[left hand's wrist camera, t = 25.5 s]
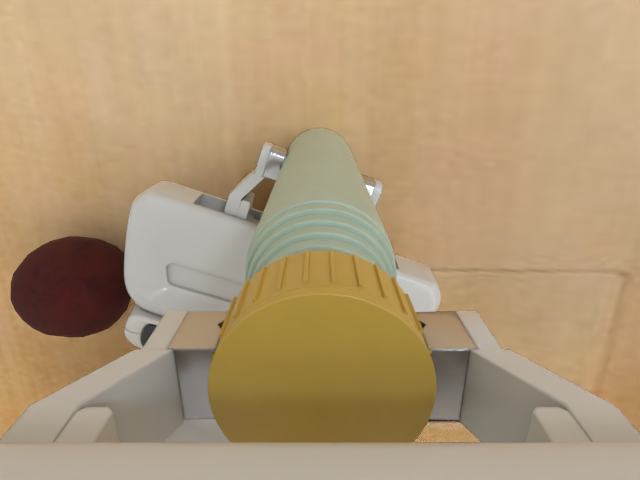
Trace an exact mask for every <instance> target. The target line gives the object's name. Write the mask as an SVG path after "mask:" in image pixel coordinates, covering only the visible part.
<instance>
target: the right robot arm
mask: <svg viewBox="0 0 640 480" xmlns="http://www.w3.org/2000/svg"><path fill="white" fill-rule="evenodd" d="M287 153H288V149H286V148H283V147H280V146H278V145H275V144H272V143H269V142H265V143H264V145H263V148H262V150H261V153H260V157H259V160H258V164H257V167H256V168H255V169H254V170H253V171H252V172H251V173H249V174H248V175H247V176H246V177H245V178H244V179H243V180H242V181H241V182H239V183H238V184H237V185H236V186H235V187H234V189H233V190H232V191H231V193H230V194H229V196H228V200H226V199H223V198H220V197H217V196H214V195H210V194H207V193H204V192H201V191H198V190H195V189H192V188H189V187H186V186H183V185H180V184H177V183H174V182H171V181H166V180H164V181H160V182H158V183H156V184H154V185H152V186H151V187H149V188H147V189H145V190H144V191H143V192H142V193H140V194H139V195H138V196H137V197H136V198H135V200H134V201H133V203H132V206H131V209H130V213H129V218H128V224H127V232H126V240H125V253H124V280H125V285H126V289H127V291H128V293H129V295H130V297H131V298H132V300H133V301H134V302H135V303H136V304H135V306H134V307H133V309H132V311H131V313H130V315H129V317H128V319H127V321H126V324H125V329H124V334H125V337H126V338H127V340H128V341H130V342H131V343H132V344H134V345H135V346H137V347H139V348H140V349H142V348H143V347H144V345H145V343H146V342H147V340H148V339H149V337H150V336H151V334H152V333H153V331H154V330H155V328H156V327H157V325H158V323H159V322H160V320H161V319H162V317H163V316H164V314H165V313H166V312H168V311H221V312H228V310H229V307H230V304H231V302H232V299H233V297H237V296H238V294H239V292H240V291H241V289H242V288H243V285H244V282H245V268H246V257H247V253H248V249H249V246H250V244H251V241H252V239H253V236H254V234H255V231H256V229H257V226H258V224H259V221H260V219H261V217H262V214H263V211H260V210H257V209H254V208H252V204H253V201H254V197H255V194H254V193H252V192H250V191H251V190H252V189H253V188H254V187H255V186H256V185H257V184H258V183H260V182H261V181H262V180H263V179H264V178H265V177H266V178H269V179H272V180H275V181H276V180H277V177H278V175H279V172H280V170H281V167H282V165H283V163H284V161H285V158H286V156H287ZM361 176H362V178H363V180H364V183H365V185H366V187H367V189H368V192H369V194H370V196H371V199H372V201H373V203H374V206H375V207H376V205H377V202H378V200H379V197H380V195H381V192H382V188H383V184H382V182H381V181H379V180H376V179H373V178H371V177H368V176H364V175H361ZM394 256H395V264H396V274H397V279H396V280H397V283H398V285H399V286H400V288H401V289H402V290H403V292H404V293H405V294H407V293H408V295H409V297H410V300H411V302H412V305H413V307H414V309H415V312H436V310H437V308H438V306H439V304H440V302H441V292H440V288H439V286H438V283H437V281H436V279H435V277H434V275H433V273H432V272H431V270H430V269H429V267H428V266H427V265H425V264H423V263H420V262H417V261H414V260H410V259H407V258H404V257H401V256H398V255H395V254H394ZM164 442H230V441H229V440H228V439H227V438H226V436H225V435H224V434H223V432H222V431H221V429H220V428H219V426H218V424H217V422H216V420H215V419H206V420H184V423H183V424H182V425H180V426H179V427H178V428H177V429H176V430H175V431H174V432H173V433H172V434H171V435H170V436H169V437H168V438H167V439H166V440H165V441H164Z"/></svg>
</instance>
